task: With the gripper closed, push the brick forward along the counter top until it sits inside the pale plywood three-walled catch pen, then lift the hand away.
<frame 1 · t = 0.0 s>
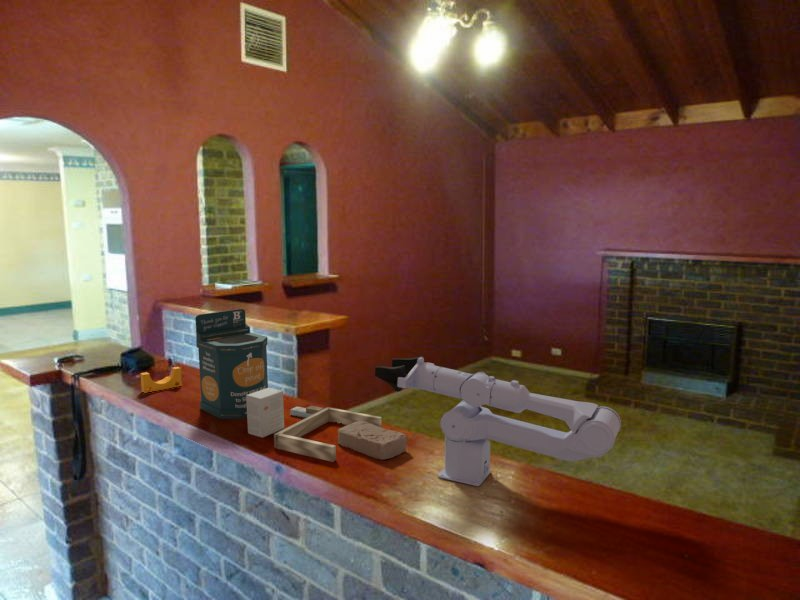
hand: (384, 367, 131), 22 cm above the worktop, tool horizontal, fingers open, 7 cm apart
catch pen: (332, 438, 145), on the worktop
brick: (371, 449, 140), on the worktop
donation box: (239, 409, 168), on the worktop
scraper bar: (307, 417, 161), on the worktop
small box: (266, 431, 151), on the worktop
pipe clamp: (161, 389, 188), on the worktop
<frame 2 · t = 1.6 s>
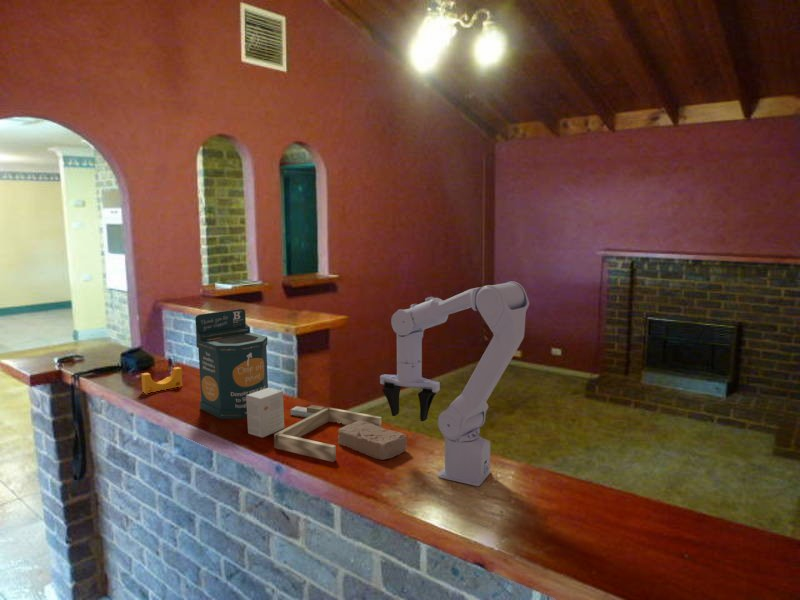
hand: (409, 417, 133), 9 cm above the worktop, tool pointing down, fingers open, 7 cm apart
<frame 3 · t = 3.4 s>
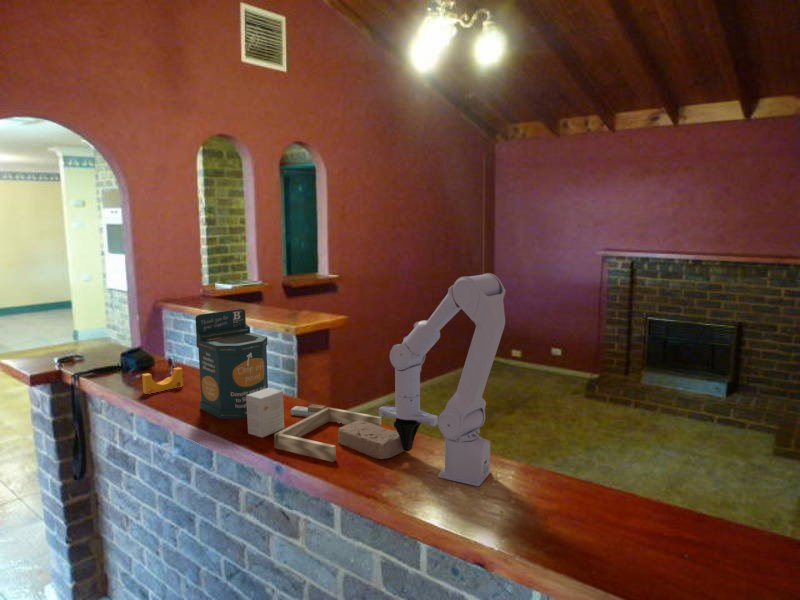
hand: (407, 449, 135), 1 cm above the worktop, tool pointing down, fingers closed
brick: (371, 448, 140), on the worktop, touching gripper
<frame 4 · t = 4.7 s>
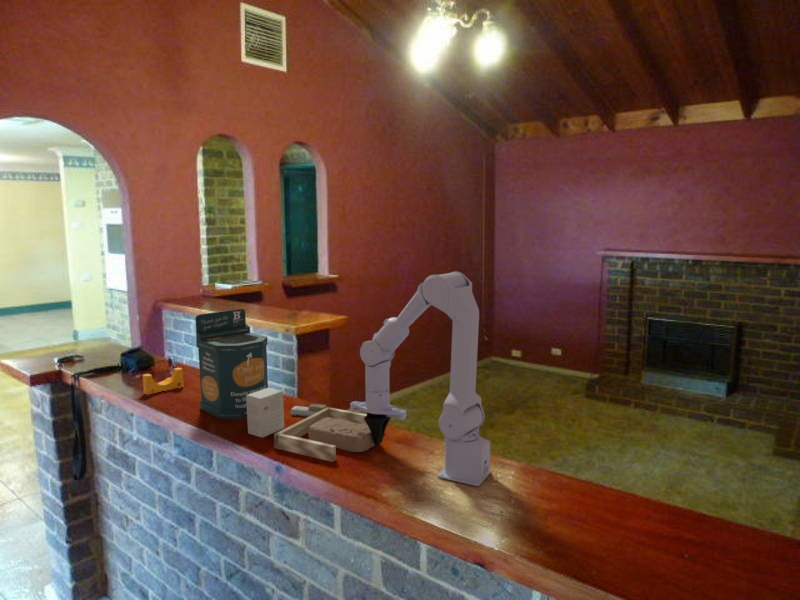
hand: (378, 443, 138), 1 cm above the worktop, tool pointing down, fingers closed
brick: (343, 443, 143), on the worktop, touching gripper
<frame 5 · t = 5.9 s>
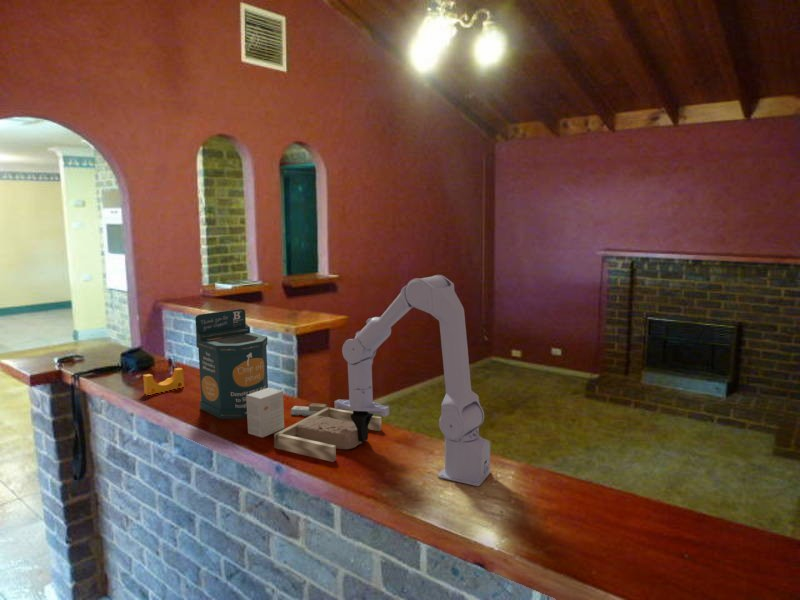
hand: (362, 440, 140), 1 cm above the worktop, tool pointing down, fingers closed, pressing on brick
brick: (331, 441, 144), on the worktop, touching catch pen, gripper
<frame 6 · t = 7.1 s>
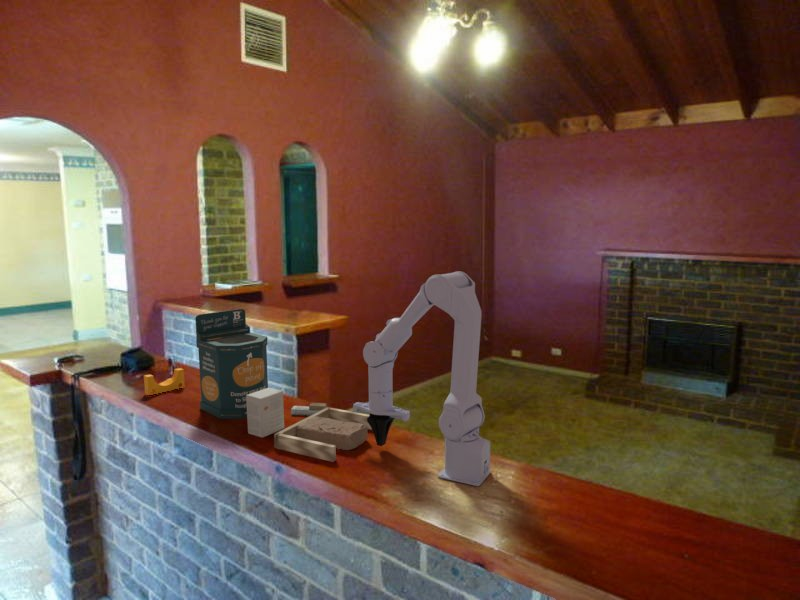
hand: (381, 444, 138), 1 cm above the worktop, tool pointing down, fingers closed
brick: (331, 442, 144), on the worktop
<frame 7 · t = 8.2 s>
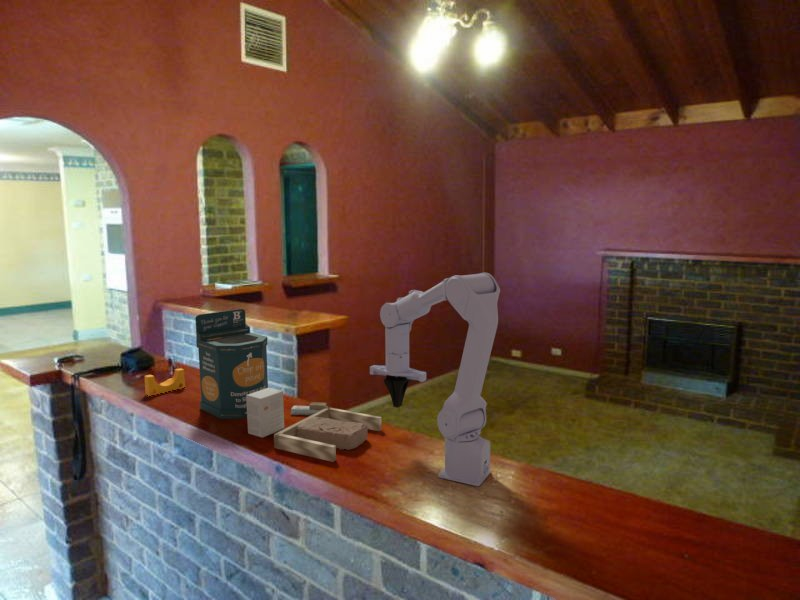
hand: (397, 406, 140), 10 cm above the worktop, tool pointing down, fingers closed
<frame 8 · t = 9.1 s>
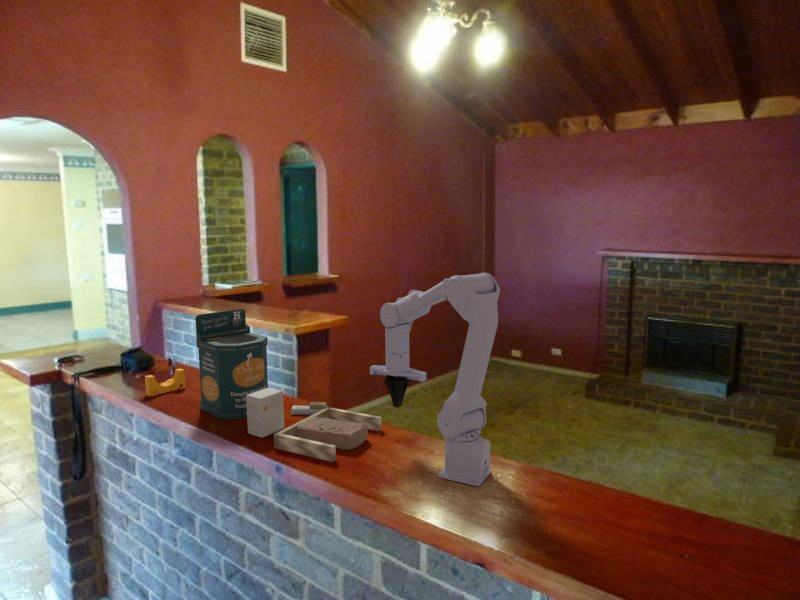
hand: (397, 406, 140), 10 cm above the worktop, tool pointing down, fingers closed
at the end: brick inside the target area on the catch pen (1.6 cm from its centre), point -0.6 cm above the catch pen's base; brick moved 11.2 cm from its start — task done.
